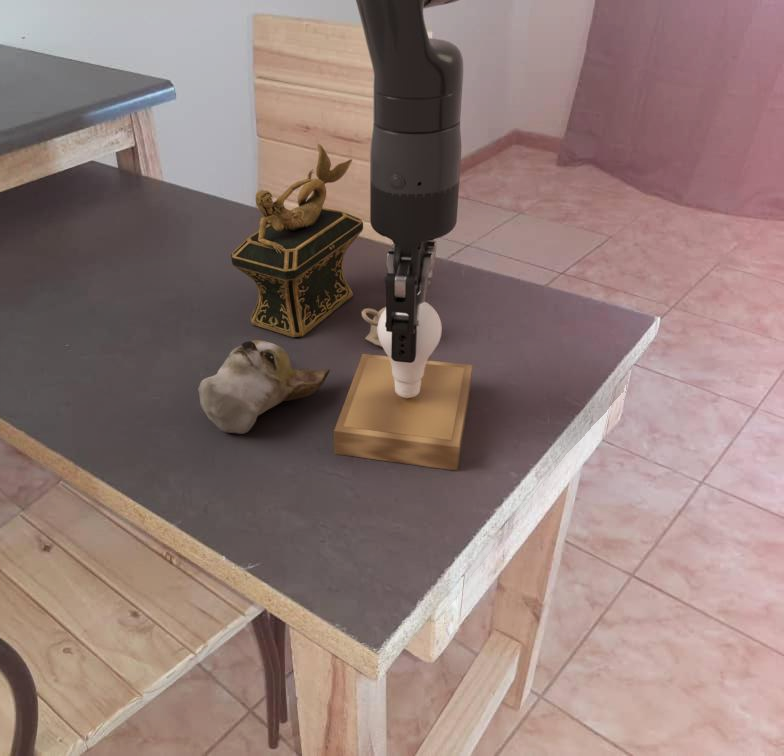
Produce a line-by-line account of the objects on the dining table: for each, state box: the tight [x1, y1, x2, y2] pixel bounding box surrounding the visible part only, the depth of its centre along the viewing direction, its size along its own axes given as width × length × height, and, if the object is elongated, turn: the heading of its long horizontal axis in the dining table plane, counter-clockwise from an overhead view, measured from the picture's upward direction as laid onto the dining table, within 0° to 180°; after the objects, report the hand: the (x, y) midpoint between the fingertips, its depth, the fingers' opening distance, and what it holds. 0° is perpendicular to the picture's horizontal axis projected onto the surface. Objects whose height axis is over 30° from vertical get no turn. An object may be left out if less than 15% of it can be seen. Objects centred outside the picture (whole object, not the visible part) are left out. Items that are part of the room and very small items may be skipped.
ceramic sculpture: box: [197, 339, 331, 435], centre depth 82 cm, size 11×9×15 cm
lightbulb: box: [377, 302, 443, 398], centre depth 76 cm, size 6×6×11 cm
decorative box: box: [230, 143, 364, 338], centre depth 97 cm, size 20×10×20 cm, turn 144°
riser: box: [333, 353, 473, 471], centre depth 80 cm, size 12×14×3 cm
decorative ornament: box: [361, 306, 386, 348], centre depth 92 cm, size 4×8×5 cm, turn 108°
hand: (409, 340), depth 75 cm, fingers closed on lightbulb, 6 cm apart
